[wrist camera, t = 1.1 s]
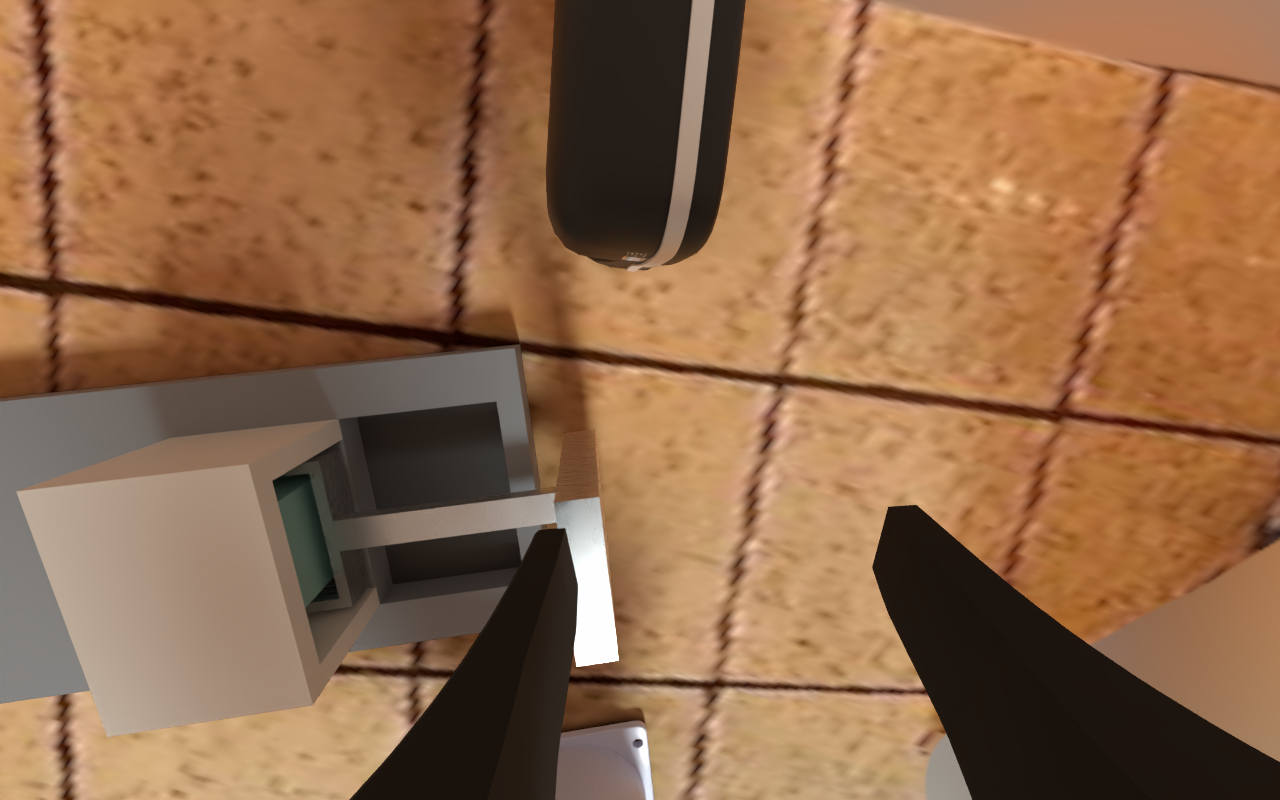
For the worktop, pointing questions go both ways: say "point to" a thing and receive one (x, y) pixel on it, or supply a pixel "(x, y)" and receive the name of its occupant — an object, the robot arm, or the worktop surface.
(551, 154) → the battery charger
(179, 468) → the tunnel
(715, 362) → the worktop surface
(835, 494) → the worktop surface
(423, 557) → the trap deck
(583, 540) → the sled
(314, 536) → the block
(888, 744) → the worktop surface
